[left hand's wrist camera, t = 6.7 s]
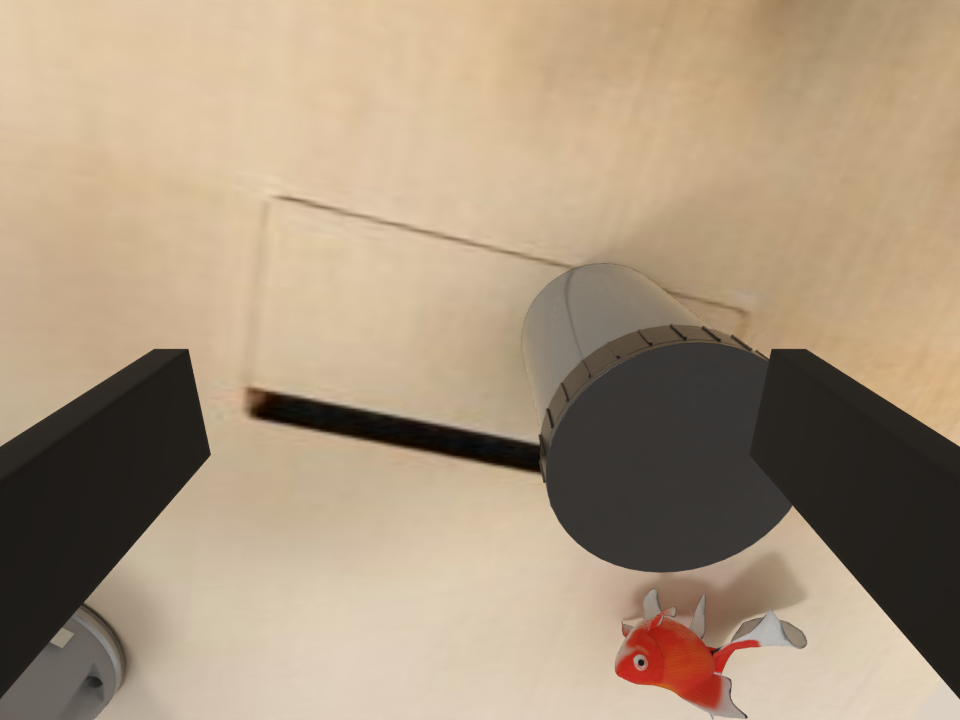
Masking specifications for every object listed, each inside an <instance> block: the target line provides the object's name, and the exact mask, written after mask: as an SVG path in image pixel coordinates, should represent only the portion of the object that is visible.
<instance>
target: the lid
mask: <svg viewBox="0 0 960 720" xmlns="http://www.w3.org/2000/svg"><path fill="white" fill-rule="evenodd" d="M768 364H769V359H768V358H767V357H765V356H764V355H763V354H761V353H760V352H759V351H757V350H756V351H754V350H752V348H750V347H749V346H748V345H746V344H745V343H744V342H742V341H741V340H740V339H738V338H737V337H735V336H734V335H731V336H730V335H728V334H725V333H722V332H719V331H716V330H714V329H709V328H707V327H706V326H702V327H700V326H691V325H674V324H670V325H664V326H657V327H651V328H646V329H642V330H641V329H638V331H635V332H632V333H629V334H626V335H624V336H622V337H619V338H617V339H615V340H612V341H610V342H607V344H605V345H604V346H602V347H600V348H598V349H597V350H595V351H594V352H593V353H591V354H590V355H589V356H587V357H586V358H585V359H583V360H581V361H580V363H579V364H578V365H577V366H576V367H575V368H574V369H573V370H572V371H571V372H570V373H569V374H568V376H567V377H566V378H565V379H564V380H563V382H562V383H560V384H559V385H560V386H559V387H558V389H557V391H556V392H555V394H554V395H553V397H552V399H551V401H550V404H549V406H548V408H546V409H545V410H546V413H545V416H544V420H543V423H542V428H541V435H540V434H539V440H540V457H541V460H539V463H540V468H541V473H542V478H543V483H546V488H547V493H548V497H549V500H550V505H551V508H552V509H553V511H554V513H555V515H556V517H557V519H558V521H559V522H560V524H561V525H562V526H563V528H564V529H565V530H566V532H567V533H568V534H569V535H570V536H571V537H572V538H573V539H574V540H575V541H576V542H577V543H578V544H579V545H580V546H582V547H583V548H584V549H586V550H587V551H588V552H590V553H592V554H593V555H595V556H597V557H598V558H600V559H602V560H605V561H607V562H609V563H612V564H614V565H617V566H621V567H624V568H628V569H632V570H638V571H644V572H678V571H685V570H692V569H696V568H700V567H704V566H708V565H711V564H714V563H717V562H719V561H722V560H725V559H727V558H729V557H731V556H733V555H735V554H737V553H739V552H741V551H743V550H744V549H746V548H748V547H749V546H751V545H753V544H754V543H756V542H757V541H758V540H760V539H761V538H762V537H764V536H765V535H766V534H767V533H768V532H769V531H771V530H772V529H773V528H774V527H775V526H776V525H777V524H778V523H779V522H780V521H781V520H782V518H783V517H784V516H785V515H786V514H787V513H788V512H789V510H790V509H791V507H792V506H793V505H792V504H791V503H790V502H789V500H788V499H787V498H786V497H785V496H784V495H783V493H782V492H781V491H780V490H779V489H778V488H777V487H776V485H775V484H774V483H773V482H772V481H771V480H770V478H769V477H768V476H767V475H766V474H765V473H764V471H763V470H762V469H761V468H760V467H759V466H758V464H757V463H756V462H755V461H754V460H753V459H752V457H751V456H750V455H749V454H750V449H751V444H752V439H753V435H754V430H755V425H756V421H757V416H758V411H759V407H760V402H761V397H762V392H763V388H764V383H765V378H766V374H767V369H768Z"/></svg>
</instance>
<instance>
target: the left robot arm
mask: <svg viewBox="0 0 960 720" xmlns="http://www.w3.org/2000/svg"><path fill="white" fill-rule="evenodd" d="M210 455H211V454H210V449H209V444H208V439H207V435H206V430H205V425H204V421H203V416H202V411H201V406H200V402H199V397H198V392H197V388H196V383H195V378H194V374H193V369H192V364H191V359H190V355H189V350H188V349H154V350H152V351H150V352H149V353H147V354H146V355H144V356H142V357H141V358H139V359H138V360H136V361H135V362H133V363H131V364H130V365H128V366H127V367H125V368H124V369H122V370H120V371H119V372H117V373H116V374H114V375H113V376H111V377H109V378H108V379H106V380H105V381H103V382H102V383H100V384H98V385H97V386H95V387H94V388H92V389H90V390H89V391H87V392H86V393H84V394H83V395H81V396H79V397H78V398H76V399H75V400H73V401H72V402H70V403H68V404H67V405H65V406H64V407H62V408H61V409H59V410H57V411H56V412H54V413H53V414H51V415H50V416H48V417H46V418H45V419H43V420H42V421H40V422H38V423H37V424H35V425H34V426H32V427H31V428H29V429H27V430H26V431H24V432H23V433H21V434H20V435H18V436H16V437H15V438H13V439H12V440H10V441H9V442H7V443H5V444H4V445H2V446H1V447H0V720H94V719H95V718H96V717H97V716H98V715H99V714H100V712H101V711H102V710H103V709H104V708H105V706H106V705H107V704H108V703H109V701H110V700H111V698H112V697H113V695H114V694H115V692H116V691H117V689H118V688H119V686H120V684H121V682H122V680H123V677H124V672H125V660H124V655H123V651H122V649H121V646H120V644H119V642H118V640H117V638H116V637H115V635H114V634H113V633H112V631H111V630H110V629H109V628H108V626H107V625H106V624H105V623H104V622H103V621H102V620H101V619H100V618H99V617H97V616H96V615H95V614H94V613H93V612H91V611H90V610H88V609H87V608H86V607H84V606H82V604H83V603H84V601H85V600H86V599H87V598H88V597H89V596H90V594H91V593H92V592H93V591H94V590H95V589H96V588H97V586H98V585H99V584H100V583H101V582H102V581H103V579H104V578H105V577H106V576H107V575H108V574H109V572H110V571H111V570H112V569H113V568H114V567H115V565H116V564H117V563H118V562H119V561H120V560H121V558H122V557H123V556H124V555H125V554H126V553H127V552H128V550H129V549H130V548H131V547H132V546H133V545H134V543H135V542H136V541H137V540H138V539H139V538H140V536H141V535H142V534H143V533H144V532H145V531H146V529H147V528H148V527H149V526H150V525H151V524H152V523H153V521H154V520H155V519H156V518H157V517H158V516H159V514H160V513H161V512H162V511H163V510H164V509H165V507H166V506H167V505H168V504H169V503H170V502H171V500H172V499H173V498H174V497H175V496H176V495H177V493H178V492H179V491H180V490H181V489H182V488H183V487H184V485H185V484H186V483H187V482H188V481H189V480H190V478H191V477H192V476H193V475H194V474H195V473H196V471H197V470H198V469H199V468H200V467H201V466H202V464H203V463H204V462H205V461H206V460H207V459H208V457H209V456H210ZM749 455H750V456H751V457H752V459H753V460H754V461H755V462H756V463H757V464H758V466H759V467H760V468H761V469H762V470H763V471H764V473H765V474H766V475H767V476H768V477H769V478H770V480H771V481H772V482H773V483H774V484H775V485H776V487H777V488H778V489H779V490H780V491H781V492H782V493H783V495H784V496H785V497H786V498H787V499H788V500H789V502H790V503H791V504H792V505H793V506H794V507H795V509H796V510H797V511H798V512H799V513H800V514H801V516H802V517H803V518H804V519H805V520H806V521H807V522H808V524H809V525H810V526H811V527H812V528H813V529H814V531H815V532H816V533H817V534H818V535H819V536H820V538H821V539H822V540H823V541H824V542H825V543H826V545H827V546H828V547H829V548H830V549H831V550H832V552H833V553H834V554H835V555H836V556H837V557H838V558H839V560H840V561H841V562H842V563H843V564H844V565H845V567H846V568H847V569H848V570H849V571H850V572H851V574H852V575H853V576H854V577H855V578H856V579H857V581H858V582H859V583H860V584H861V585H862V586H863V588H864V589H865V590H866V591H867V592H868V593H869V594H870V596H871V597H872V598H873V599H874V600H875V601H876V603H877V604H878V605H879V606H880V607H881V608H882V610H883V611H884V612H885V613H886V614H887V615H888V617H889V618H890V619H891V620H892V621H893V622H894V623H895V625H896V626H897V627H898V628H899V629H900V630H901V632H902V633H903V634H904V635H905V636H906V637H907V639H908V640H909V641H910V642H911V643H912V644H913V646H914V647H915V648H916V649H917V650H918V651H919V653H920V654H921V655H922V656H923V657H924V658H925V659H926V661H927V662H928V663H929V664H930V665H931V666H932V668H933V669H934V670H935V671H936V672H937V673H938V675H939V676H940V677H941V678H942V679H943V680H944V682H945V683H946V684H947V685H948V686H949V687H950V688H951V690H952V691H953V692H954V693H955V694H956V695H957V697H958V698H959V699H960V447H959V446H958V445H956V444H955V443H953V442H951V441H950V440H948V439H947V438H945V437H944V436H942V435H940V434H939V433H937V432H936V431H934V430H933V429H931V428H929V427H928V426H926V425H925V424H923V423H922V422H920V421H918V420H917V419H915V418H914V417H912V416H911V415H909V414H907V413H906V412H904V411H903V410H901V409H899V408H898V407H896V406H895V405H893V404H892V403H890V402H888V401H887V400H885V399H884V398H882V397H881V396H879V395H877V394H876V393H874V392H873V391H871V390H870V389H868V388H866V387H865V386H863V385H862V384H860V383H858V382H857V381H855V380H854V379H852V378H851V377H849V376H847V375H846V374H844V373H843V372H841V371H840V370H838V369H836V368H835V367H833V366H832V365H830V364H829V363H827V362H825V361H824V360H822V359H821V358H819V357H818V356H816V355H814V354H813V353H811V352H810V351H808V350H806V349H772V350H771V355H770V359H769V364H768V369H767V374H766V378H765V383H764V388H763V392H762V397H761V402H760V407H759V411H758V416H757V421H756V425H755V430H754V435H753V439H752V444H751V449H750V454H749Z"/></svg>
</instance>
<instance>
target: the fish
mask: <svg viewBox="0 0 960 720" xmlns="http://www.w3.org/2000/svg"><path fill="white" fill-rule="evenodd" d="M643 609H644V620H643V621H641V622H639V623H637V624H636V625H635V626H634V627H632V626H628V625H625V624H623V623H622V632H623V635H624V636H625V637H626V639H625V640H624V642H623V644H622V646H621V648H620V650H619V652H618V654H617V657H616V660H615V672H616V674H617V675H618V676H619V677H621V678H623V679H625V680H627V681H630V682H632V683H635V684H641V685H654V686H659V687H662V688H666V689H669V690H671V691H673V692H675V693H676V694H677V695H678V696H680V697H681V698H683V699H684V700H686V701H688V702H689V703H691V704H693V705H695V706H697V707H698V708H700V709H702V710H704V711H706V712H709V713H710V715H711V717H712V719H713V717H714V715H716V716H723V717H730V718H748V717H747V715H746V714H744V713H743V712H742V711H741V710H740V709H738V708H737V707H736V706H735V705H734V703H733V702H732V700H731V696H730V694H731V686H732V683H731V679H729V678H727V677H725V676H721V674H722V671H723V668H724V666H725V664H726V662H727V660H728V658H729V657H730V655H731V654H732V653H733V652H734V651H735V650H736V649H742V648H749V647H762V646H774V645H779V646H790V647H795V648H798V649H802V648H804V647H805V646H806V645H807V640H806V637H805V635H804V633H803V632H802V631H801V630H799V629H798V628H796V627H795V626H793V625H792V624H790V623H788V622H786V621H782V620H779V619H778V618H777V617H776V615H775V614H774V613H773V611H772V610H771V609H770V610H769V611H768V613H767V614H766V615H765V616H764V617H763V618H757V619H753V620H750V621H747V622H744V623H743V624H742V625H741V627H740V628H739V630H738V631H737V632H736V634H735V635H734V637H733V638H732V640H731V642H730V643H729V644H726V645H724V646H722V647H720V648H718V649H715V648H711V647H707V646H706V645H705V644H704V643H703V642H702V640H701V639H702V638H703V636H704V634H705V594H703V596H702V598H701V600H700V602H699V604H698V606H697V609H696V611H695V614H694V618H693V621H692V624H691V626H690V627H689V629H688V628H687V627H685V626H684V625H682V624H680V623H678V622H676V621H674V620H672V619H669V618H666V617H664V615H670V616H672V617H675V616H676V607H672V608H670V609H666V610H663V611H662V612H661V609H660V606H659V602H658V596H657V590H656V589H652V590H651V591H650V592H649V593H648V594H647V596H646V597H645V598H644V600H643ZM621 622H622V621H621Z"/></svg>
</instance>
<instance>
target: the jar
mask: <svg viewBox="0 0 960 720" xmlns="http://www.w3.org/2000/svg"><path fill="white" fill-rule="evenodd" d="M670 324H674V325H691V326H700V327H702V326H706V327H707V328H709V329H713V328H712V327H711V326H710V325H708V324H707V323H706V322H704V321H703V320H702V319H700V318H699V317H698V316H697V315H695V314H694V313H693V312H691V311H690V310H689V309H687V308H686V307H685V306H684V305H682V304H681V303H680V302H678V301H677V300H676V299H674V298H673V297H672V296H671V295H669V294H668V293H667V292H665V291H664V290H663V289H661V288H660V287H659V286H657V285H656V284H655V283H654V282H652V281H651V280H650V279H648V278H647V277H646V276H644V275H643V274H641V273H639V272H637V271H635V270H633V269H630V268H628V267H625V266H620V265H616V264H605V263H604V264H591V265H586V266H582V267H579V268H576V269H573V270H571V271H568V272H566V273H564V274H562V275H561V276H559V277H558V278H556V279H555V280H553V281H552V282H551V283H550V284H548V285H547V286H546V287H545V288H544V289H543V290H542V291H541V292H540V293H539V295H538V296H537V297H536V299H535V300H534V301H533V303H532V305H531V307H530V309H529V310H528V313H527V315H526V318H525V321H524V325H523V330H522V352H523V357H524V362H525V366H526V370H527V375H528V379H529V383H530V388H531V392H532V397H533V401H534V405H535V410H536V414H537V418H538V423H539V427H540V432H541V428H542V423H543V420H544V416H545V413H546V410H545V409H546V408H548V406H549V404H550V401H551V399H552V397H553V395H554V394H555V392H556V391H557V389H558V387H559V386H560V385H559V384H560V383H562V382H563V380H564V379H565V378H566V377H567V376H568V374H569V373H570V372H571V371H572V370H573V369H574V368H575V367H576V366H577V365H578V364H579V363H580V361H581V360H583V359H585V358H586V357H587V356H589V355H590V354H591V353H593V352H594V351H595V350H597V349H598V348H600V347H602V346H604V345H605V344H607V342H610V341H612V340H615V339H617V338H619V337H622V336H624V335H626V334H629V333H632V332H635V331H638V329H641V330H642V329H646V328H651V327H657V326H664V325H670ZM714 330H715V329H714Z"/></svg>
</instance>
